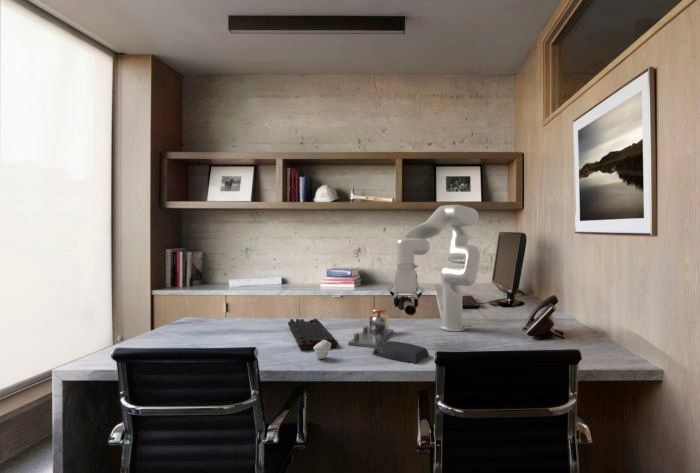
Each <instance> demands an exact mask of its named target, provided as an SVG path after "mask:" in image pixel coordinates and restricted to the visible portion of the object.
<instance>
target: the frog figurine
mask: <svg viewBox="0 0 700 473" xmlns="http://www.w3.org/2000/svg"><path fill="white" fill-rule="evenodd" d="M313 349H314V350H313V351H314V355H315V357H317V358H318V359H320V360H323V359H326V358H327V356H328V355H329V351H330V350H331V349H332V348H331V343H330V342H328V341H326V340H322V341H321V342H320V343H318V344H316V345H315V346H314V348H313Z"/></svg>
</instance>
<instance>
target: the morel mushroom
mask: <svg viewBox="0 0 700 473" xmlns="http://www.w3.org/2000/svg"><path fill="white" fill-rule="evenodd" d="M397 308H398V310H400V311H404V313H405V314H406V315H408V316H414V315H416V313H417V308H415V307H414V302H413V300H412V298H411V297H408V295H407V296H405V295H403V296H400V297H398V306H397Z"/></svg>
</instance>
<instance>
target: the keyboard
mask: <svg viewBox="0 0 700 473" xmlns="http://www.w3.org/2000/svg"><path fill="white" fill-rule="evenodd" d="M287 324H288V327H289V330H290V332H291V334H292V336H293V338H294V340H295V341H296V343H297V345H298V348H299V349H300V351H302V352H305V351H314V349H313V348H314V346H315V345H316V344H318V343H320V342H321V341H322V340H326V341H328V342H330V343H331V348H330V349H336V347H337V346H339V342H338V341H337V339H336V338H335V337H334V336H333V335H332V333H330V332H329V330H328V329H327V328H326V327H325V326H324V325H323V324H322V322H320V320H318V319H317V318H314V319H309V320H307V321H305V319H303V318H301V319H299V318H295V320H294V318H290V320H289V321H287Z"/></svg>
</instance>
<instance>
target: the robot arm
mask: <svg viewBox="0 0 700 473" xmlns="http://www.w3.org/2000/svg"><path fill="white" fill-rule="evenodd" d="M479 218H480V217H479V213H478V211H477V210H476V209H475V208H473V207H469V206H465V205H462V204H448V205H447V204H445V205H441V206H439V207H437V209H435V211H434V212H433V213H432V214H431V215H430V216H429V218H428V219H427V220H425V221H424V222H423V223H420V224H419V225H417V226H415V227H413V228H412V229H410V230H408V232H406V234H405V235H403V237H402V238H400V239H398V240H396V270H395V272H394V278H393V279H394V280H393V284H391V285H390V286H388V287H387V288H386V289H387V291H388V292H389V295H390V296H392V298H393V305H394V307H395V308H398V298H399V296H398V295H399V294H412V295H413V297H414V299H413V305H414V307H415V308H416V309H417V307H419V298H421V296H422V295H423V294H424V292H425V290H426V289H425V288H424V287H423V286H421V285H420V284H419V281H418V280H419V279H418V272H417V270H415V269H418V264H415V256H424V255H426V254H428V252H429V251H430V248H431V243H430V242H429V241H428V240H427V239H431V238H433V237H436V236H438V235H440V234H441V233H442V231H443V230H444V229H445V227H447V226H448V228H449V231H450V235H451V236H450V242H449V246H448V252H447V260H448V261H449V262H450V263H452V264H449V265H445V266H443V267H442V268H441V270H440V273H439V276H440V280H441V281H440V282H441V289H442V323H441V324H440V325H439V329H440V330H442V331H445V332H446V331H447V332H454V333H455V332H456V333H457V332H464V331H465V330H466V329H467V328H466V327H470V328H472V326H473V323H472V322H469V321H464V319H463V291H462V289H461V287H462V286H463V287H471V286H473V285H474V284H475V283H476V280H477V276H478V271H479V265H480V259H481V254H480V250H479V248H478V247H477V246H476V245H472V244H468V242H469V234H468V232H467V230H466V229H465V227H473V226H475V225H477V223H479V222H478V221H479ZM453 264H460V265H453ZM460 286H461V287H460ZM392 289H393V290H394V291H393V290H392ZM419 290H420V292H419V293H417V292H418V291H419Z"/></svg>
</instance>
